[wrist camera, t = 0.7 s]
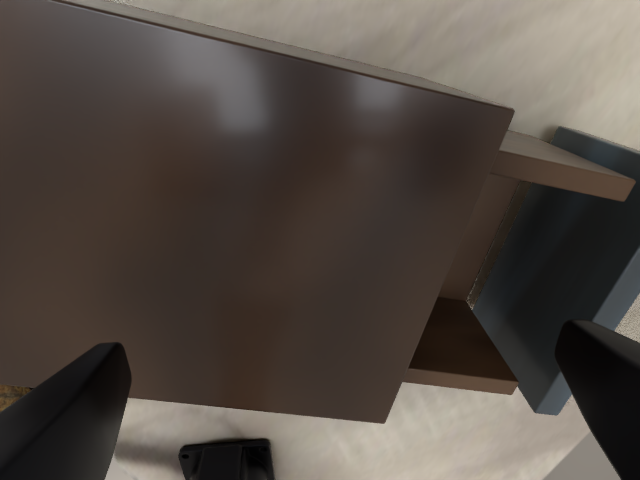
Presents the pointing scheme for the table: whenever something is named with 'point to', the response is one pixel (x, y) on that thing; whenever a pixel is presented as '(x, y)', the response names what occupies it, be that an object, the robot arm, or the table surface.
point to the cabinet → (224, 208)
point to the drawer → (537, 267)
